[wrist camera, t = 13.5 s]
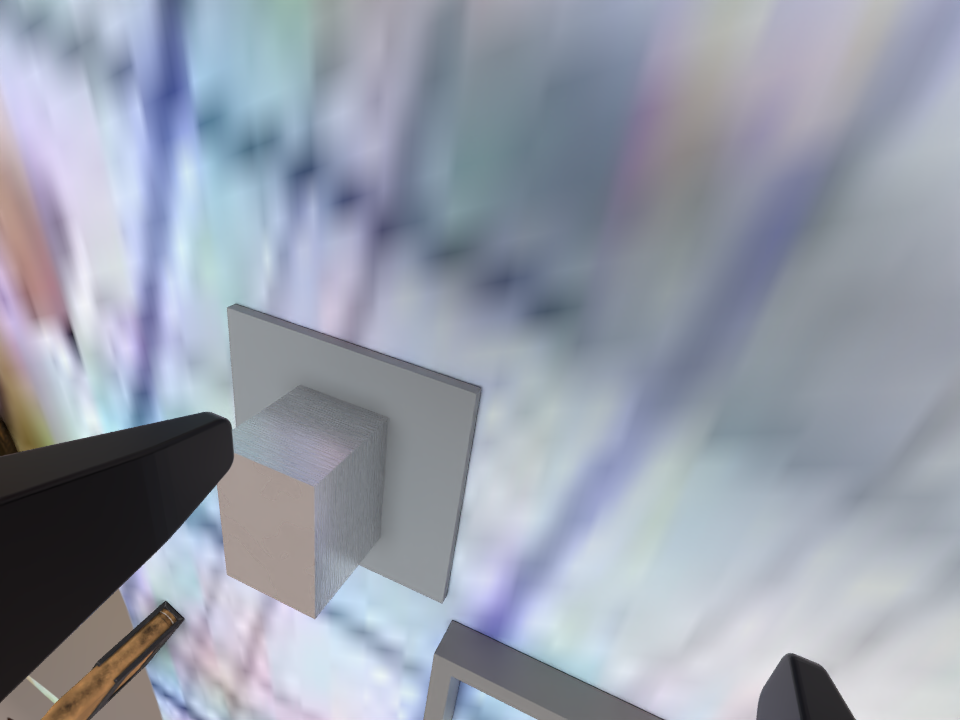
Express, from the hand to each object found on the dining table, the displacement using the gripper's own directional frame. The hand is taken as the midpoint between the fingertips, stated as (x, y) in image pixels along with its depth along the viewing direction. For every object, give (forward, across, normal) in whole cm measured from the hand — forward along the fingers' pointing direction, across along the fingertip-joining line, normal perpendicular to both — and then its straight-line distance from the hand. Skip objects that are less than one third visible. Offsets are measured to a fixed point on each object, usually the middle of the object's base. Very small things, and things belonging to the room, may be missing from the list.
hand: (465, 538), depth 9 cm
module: (+12, +10, +11) cm, 19 cm away
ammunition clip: (+12, +26, +35) cm, 45 cm away
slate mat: (+12, +10, +11) cm, 19 cm away
